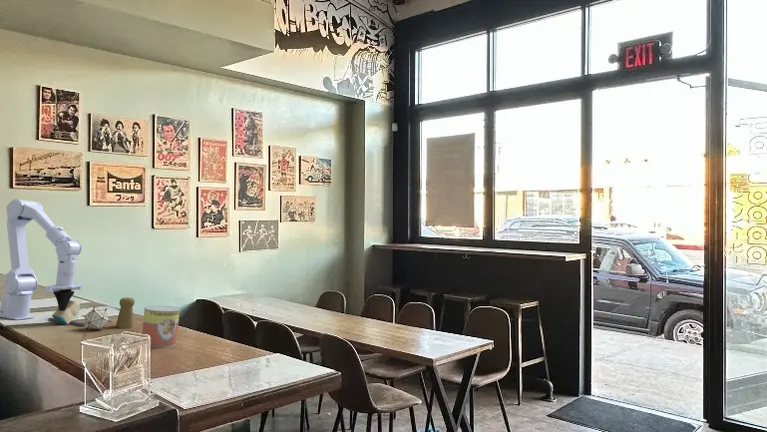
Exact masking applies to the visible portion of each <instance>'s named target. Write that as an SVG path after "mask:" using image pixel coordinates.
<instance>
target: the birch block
mask: <svg viewBox="0 0 767 432" xmlns="http://www.w3.org/2000/svg"><path fill="white" fill-rule="evenodd" d="M77 303H78V302H76V301H75V300H71V299H70V300H69V302H68V304H67V307H66V309H65V311H61V310H59V308H57V309H56V310H55V312H53V314H52V315H51V317H52V318H54V319H55V320H56V321H57V322H56V323H57V324H60V325H66V326H68V325H70V324H69V323H70V322H71V321H73V320H74V319H73V318H74V317H75V316H76V314H77V313H78V312H79V313H80V311H81V310H82V309H81V308H80V307H81V306H80V307H79V306H78V305H77ZM72 319H73V320H72Z"/></svg>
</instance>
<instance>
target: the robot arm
mask: <svg viewBox="0 0 767 432" xmlns="http://www.w3.org/2000/svg"><path fill="white" fill-rule="evenodd" d="M5 209H6V227H7V228H6V229H7V236H8V238H7V239H8V245H9V247H8V248H9V256H10V265H11V266H10V267H11V269H10V270H9V271H7V272H6V273H5V281H4V286H3V287H4V289H5V291H6V293H5V294H3V296H2V297H1V300H0V318H3V319H10V320H13V321H14V320H16V321H17V320H18V321H19V320H24V319H26V320H27V319H33V318H35V317H36V316H35V315H30V310H31V302H32V301H31V300H32V295H33V294H34V291H36V290H37V288H38V286H39V280H38V279H37V276H36V272H35V271H34V270H33V269H32V268H31V267H30V266H29V255H28V248H27V247H28V245H27V239H26V237H27V236H26V230H25V227H26V225H28V224H29V223H31V221H33V220H34V222H36V223H37V224H38V225H39V226H40V227H41V228H42V229H43V230H44V231H45V232H46V234H45V236H46V238H47V239H48V240H49V241H50V242H51V244H52V245H54V247H55V253H56V254H57V261H58V263H57V271H56V279H55V280H56V281H55V284H54V285H52V284H51V285H46V286H45V290H44V291H45V292H46V293H53V295H54V297H55V300H56V302H57V306H58V308H59V310H61V311H65V309H66V307H67V304H68V302H69V300H70V301H71V298H72V297H73V295H74V294H75V290H79V291H80V290H81V291H82V290H83V284H82V283H75V275H76V269H77V259H78V258H77V257H78V256H79V255H80V254H81V252H82V245H81V243H80V241H78V240H74V239H73V238H72V237H71V236H69V234H67V232H66V231H65V229H64V227H63V226H60V225H59V226H58V225H55V223H54V222H53V221H52V220H51V218H49V216H48V215H47V213H46V212H45V211H44V206H43V205H42V204H41V203H40V202H39V201H37V200H25V199H19V198H18V199H17V198H15V199H11V201H9V203H8V204H7V206H6V208H5ZM58 308H57V309H58Z"/></svg>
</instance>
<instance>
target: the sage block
mask: <svg viewBox="0 0 767 432" xmlns="http://www.w3.org/2000/svg"><path fill="white" fill-rule="evenodd" d="M76 303H77V305H78V306H79V307H81V303H80V302H76ZM79 314H80V311H79V312H78V313H77V314H76V316H75V317H74V318H73V319H72V320H71V321H73V320H76V319H79V316H80V315H79Z"/></svg>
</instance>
